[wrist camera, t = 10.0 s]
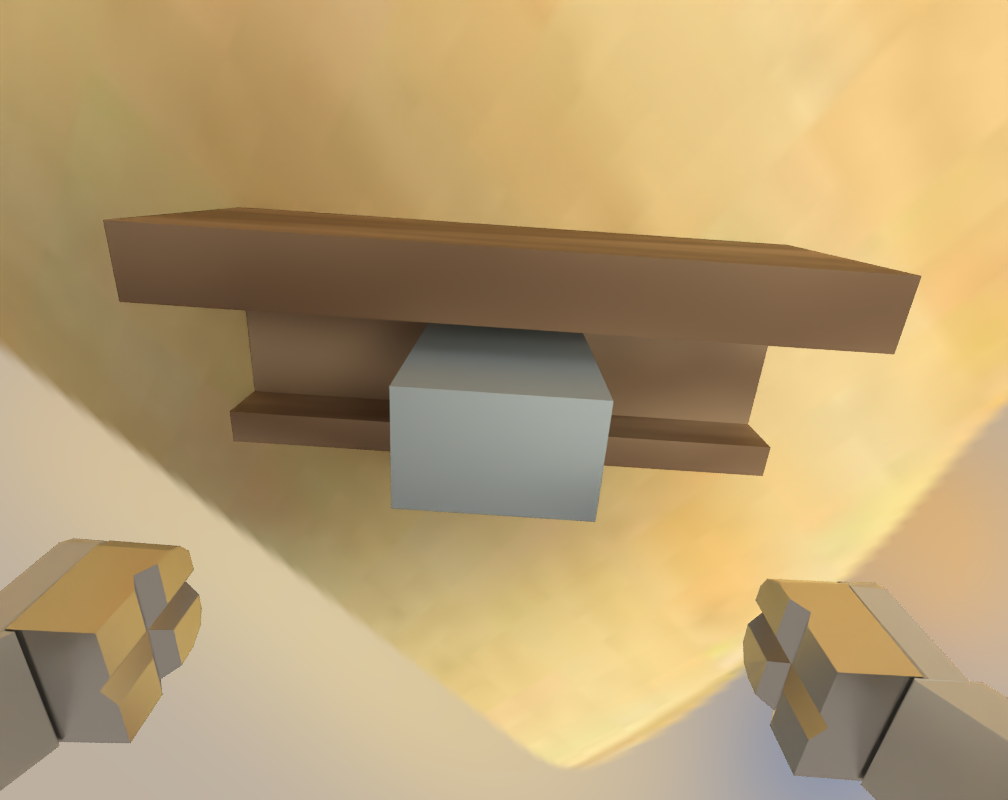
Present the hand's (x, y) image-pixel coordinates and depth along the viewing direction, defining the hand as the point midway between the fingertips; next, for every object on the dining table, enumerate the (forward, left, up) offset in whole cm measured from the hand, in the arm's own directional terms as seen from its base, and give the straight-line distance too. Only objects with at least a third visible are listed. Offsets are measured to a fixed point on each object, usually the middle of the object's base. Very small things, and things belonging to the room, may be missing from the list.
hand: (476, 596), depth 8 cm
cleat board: (0, 0, -15) cm, 14 cm away
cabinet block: (0, 0, -14) cm, 14 cm away
